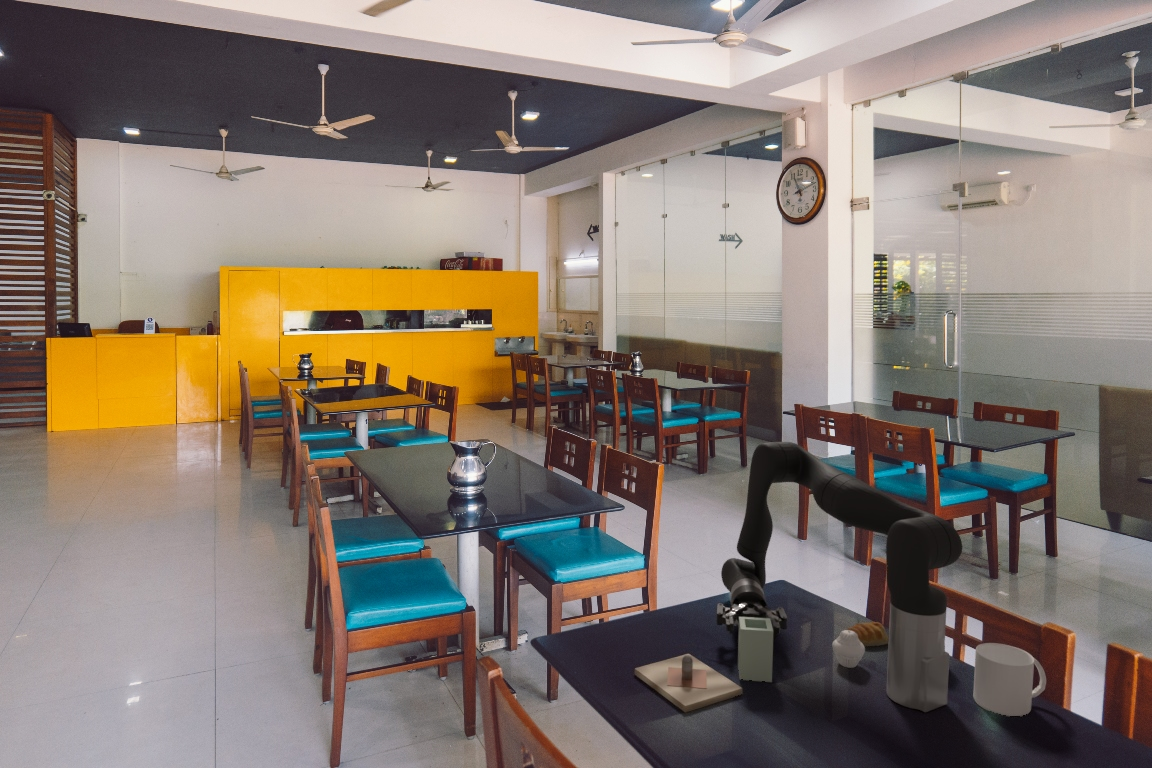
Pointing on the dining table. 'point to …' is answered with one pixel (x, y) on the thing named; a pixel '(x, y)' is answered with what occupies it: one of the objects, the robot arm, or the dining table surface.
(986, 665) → the mug
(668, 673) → the post board
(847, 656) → the white piece
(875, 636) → the pastry
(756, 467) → the robot arm
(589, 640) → the dining table surface
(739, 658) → the sleeve
